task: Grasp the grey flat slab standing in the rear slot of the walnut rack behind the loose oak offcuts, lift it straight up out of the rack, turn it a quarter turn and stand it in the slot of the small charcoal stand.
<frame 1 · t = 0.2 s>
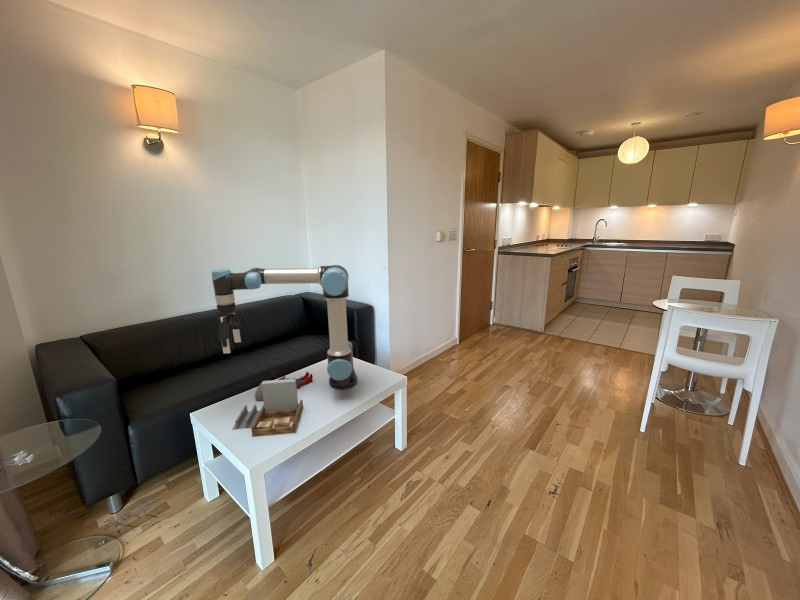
hand: (232, 347, 152), 29 cm above the table, fingers open, 13 cm apart
stand: (247, 421, 143), on the table
offcut b: (282, 424, 136), point 3 cm above the table, touching offcut a
toy: (285, 391, 170), on the table
rack: (279, 422, 142), on the table
offcut c: (264, 430, 135), point 1 cm above the table, touching rack
grey flat slab: (282, 413, 147), point 1 cm above the table, touching rack
offcut a: (283, 429, 136), point 1 cm above the table, touching offcut b, rack
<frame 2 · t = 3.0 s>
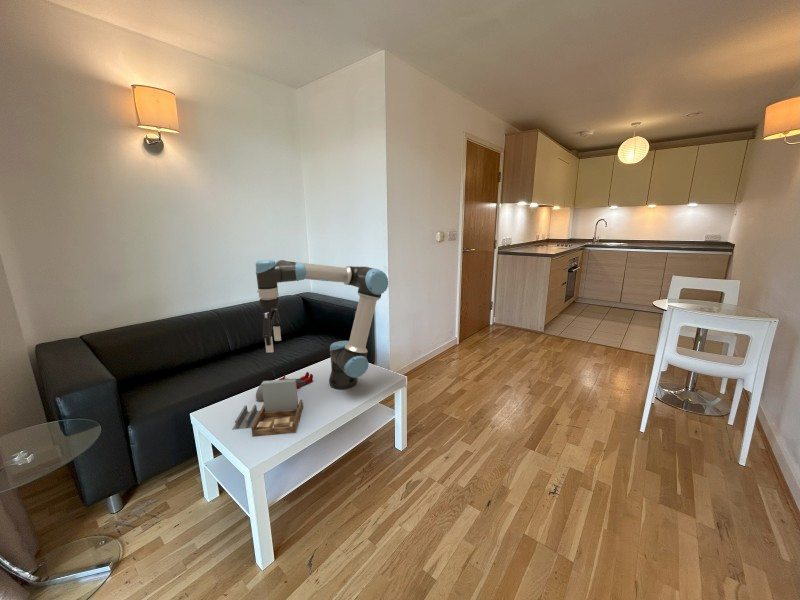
hand: (274, 346, 139), 34 cm above the table, fingers open, 13 cm apart
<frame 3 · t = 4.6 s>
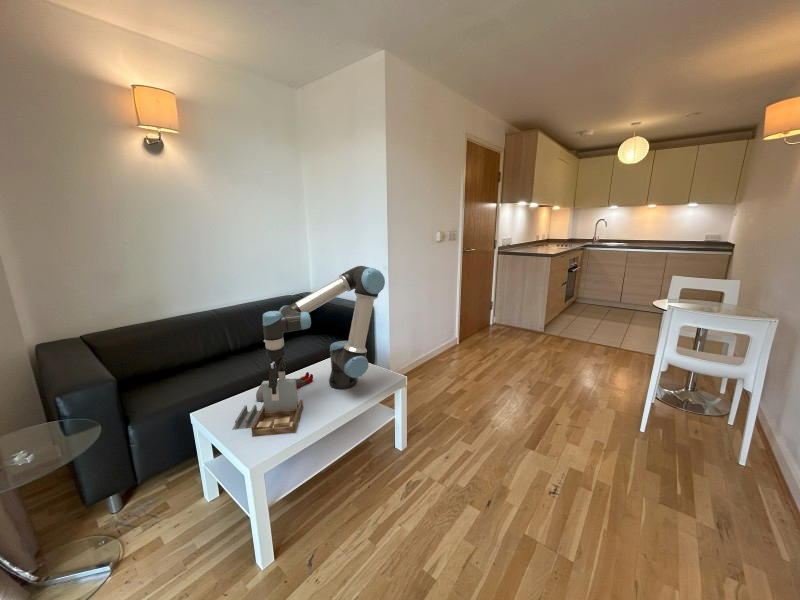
hand: (279, 392, 144), 12 cm above the table, fingers open, 13 cm apart
nothing on the table moved.
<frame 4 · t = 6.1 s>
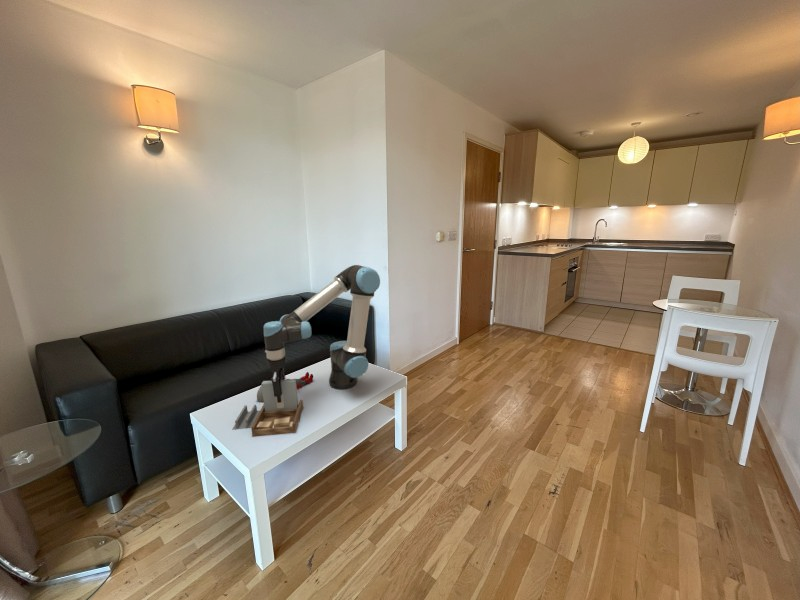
hand: (281, 405, 146), 5 cm above the table, fingers closed on grey flat slab, 3 cm apart
grey flat slab: (282, 413, 147), point 1 cm above the table, touching gripper, rack
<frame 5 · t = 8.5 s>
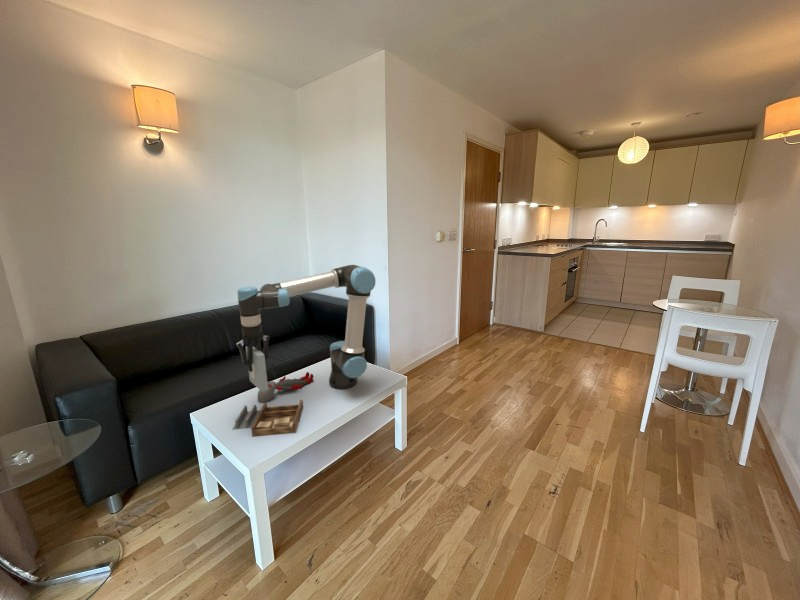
hand: (257, 376, 140), 21 cm above the table, fingers closed on grey flat slab, 3 cm apart
grey flat slab: (258, 384, 141), point 17 cm above the table, touching gripper
when the fingers open (6 cm above the table, at t = 11.2 s): grey flat slab drops 1 cm, resting on stand.
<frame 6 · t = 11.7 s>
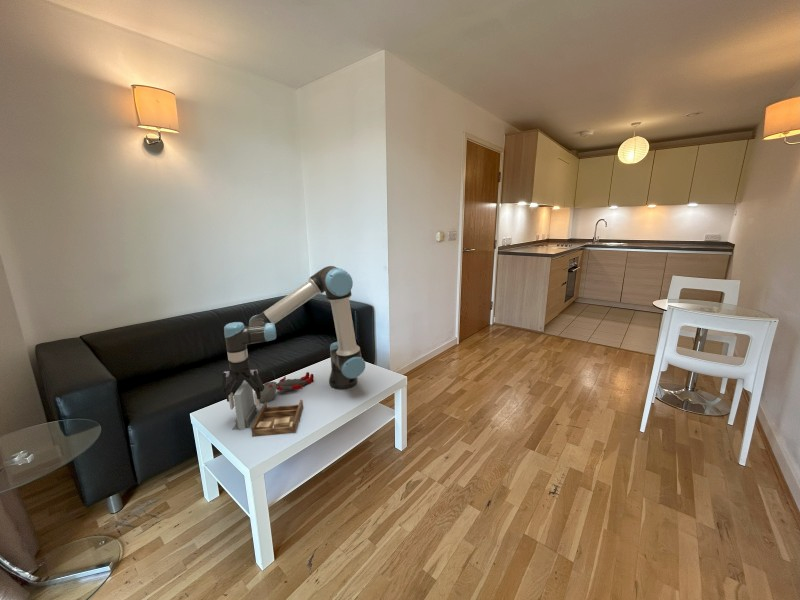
hand: (245, 406, 142), 7 cm above the table, fingers open, 10 cm apart
grey flat slab: (247, 419, 143), point 1 cm above the table, touching stand
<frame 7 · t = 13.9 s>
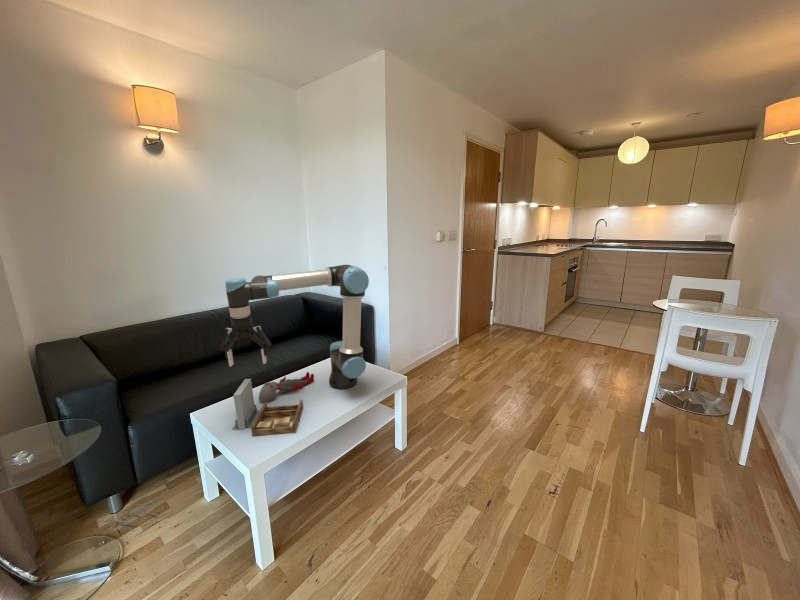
hand: (248, 363, 138), 27 cm above the table, fingers open, 13 cm apart
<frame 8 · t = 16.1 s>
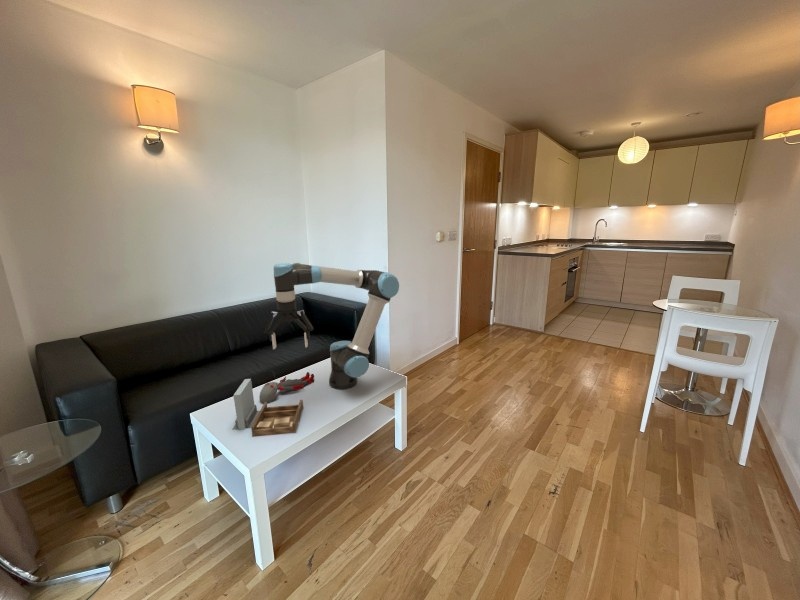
hand: (290, 347, 143), 32 cm above the table, fingers open, 13 cm apart
at the end: grey flat slab inside the target area on the stand (0.1 cm from its centre), point 1.0 cm above the stand's base; grey flat slab tilted 0°; the gripper is holding nothing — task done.
